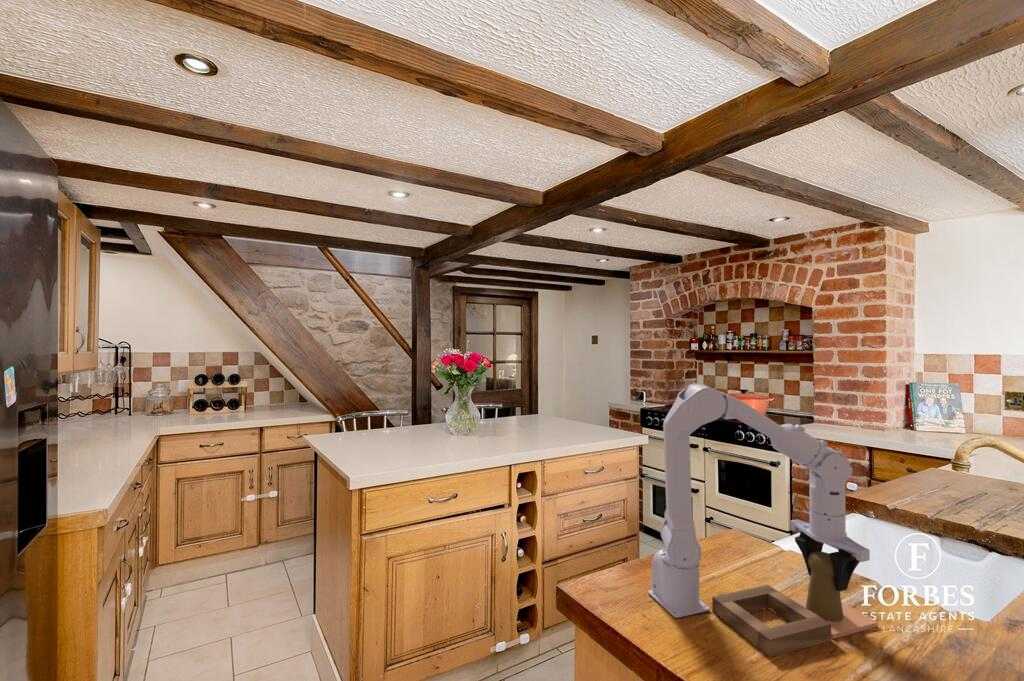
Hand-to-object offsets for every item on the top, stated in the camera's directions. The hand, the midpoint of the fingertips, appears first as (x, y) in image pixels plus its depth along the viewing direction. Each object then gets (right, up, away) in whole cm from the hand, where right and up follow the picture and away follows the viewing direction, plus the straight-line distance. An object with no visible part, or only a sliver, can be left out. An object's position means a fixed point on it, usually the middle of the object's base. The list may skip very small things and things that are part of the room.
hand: (827, 582), depth 90 cm
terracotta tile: (0, -6, 0) cm, 6 cm away
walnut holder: (-13, -7, -3) cm, 15 cm away
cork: (-1, -6, 0) cm, 6 cm away
